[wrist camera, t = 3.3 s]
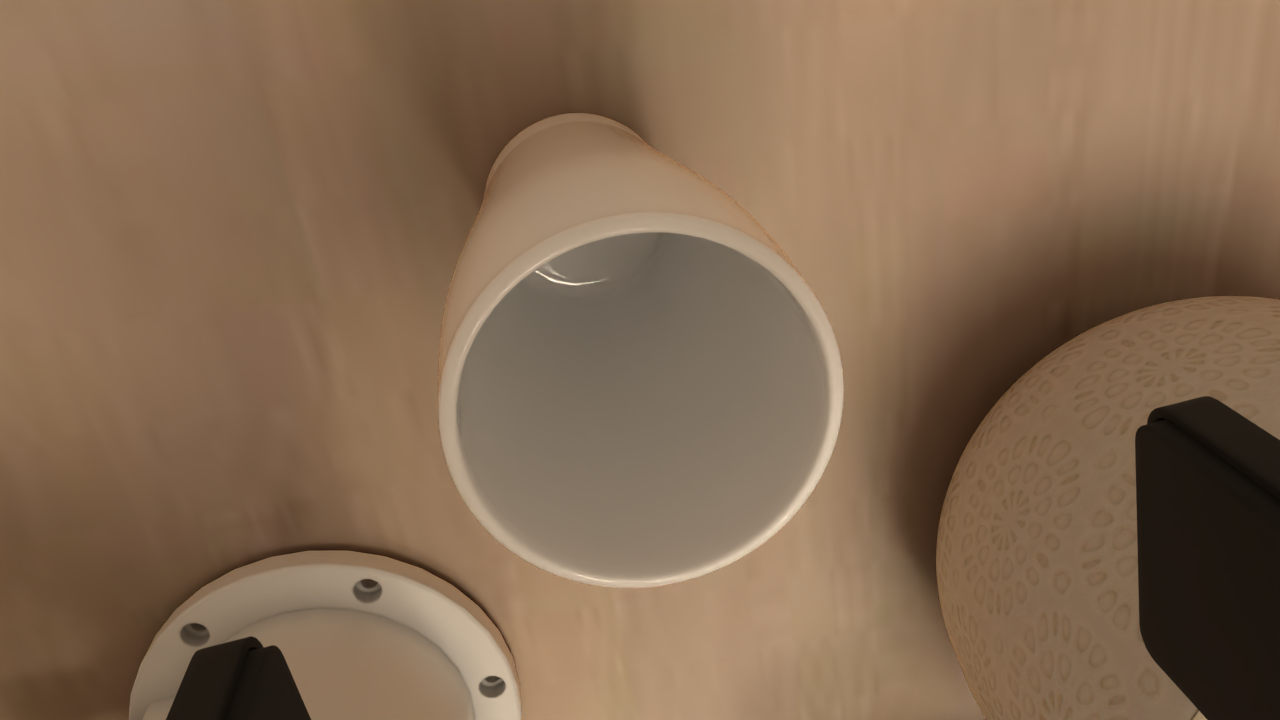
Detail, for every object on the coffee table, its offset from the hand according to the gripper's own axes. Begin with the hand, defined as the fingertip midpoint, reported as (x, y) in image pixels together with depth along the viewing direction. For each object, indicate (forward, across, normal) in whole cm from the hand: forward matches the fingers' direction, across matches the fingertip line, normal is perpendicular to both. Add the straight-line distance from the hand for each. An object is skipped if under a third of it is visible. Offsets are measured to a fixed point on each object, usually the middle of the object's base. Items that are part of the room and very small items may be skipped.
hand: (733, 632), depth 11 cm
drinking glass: (+21, 0, 0) cm, 21 cm away
